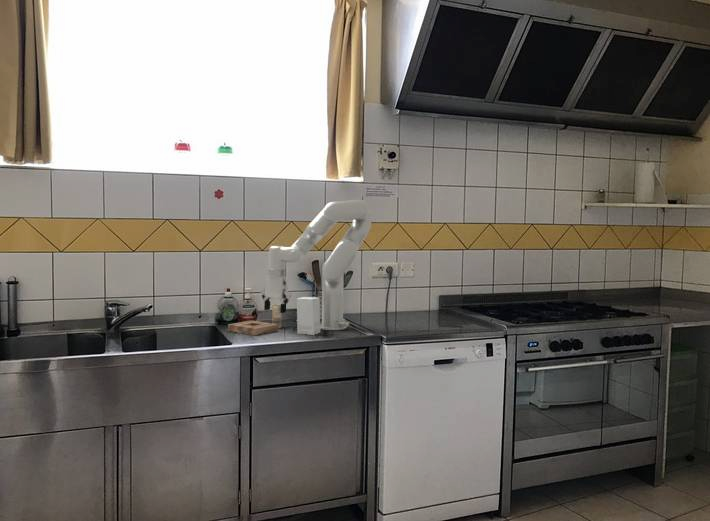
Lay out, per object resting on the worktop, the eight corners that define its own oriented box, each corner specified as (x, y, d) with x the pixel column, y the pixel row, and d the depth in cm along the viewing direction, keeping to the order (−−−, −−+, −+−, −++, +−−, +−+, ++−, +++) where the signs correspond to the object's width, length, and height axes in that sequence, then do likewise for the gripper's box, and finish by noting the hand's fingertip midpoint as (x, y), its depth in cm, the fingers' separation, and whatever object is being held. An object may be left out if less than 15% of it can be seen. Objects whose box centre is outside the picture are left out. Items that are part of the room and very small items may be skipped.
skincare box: (320, 333, 258) (321, 297, 257) (313, 335, 252) (313, 299, 251) (303, 331, 262) (304, 296, 261) (296, 334, 256) (296, 297, 255)
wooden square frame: (277, 331, 262) (277, 324, 261) (255, 335, 250) (255, 328, 250) (251, 327, 271) (251, 320, 271) (228, 331, 259) (228, 324, 259)
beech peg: (283, 327, 270) (283, 305, 270) (277, 328, 267) (277, 306, 266) (276, 326, 273) (276, 304, 272) (270, 327, 269) (270, 305, 269)
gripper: (296, 274, 267) (295, 312, 268) (268, 271, 276) (266, 308, 277) (285, 275, 260) (283, 314, 261) (256, 272, 270) (255, 309, 271)
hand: (275, 311), depth 269 cm, fingers open, 9 cm apart
